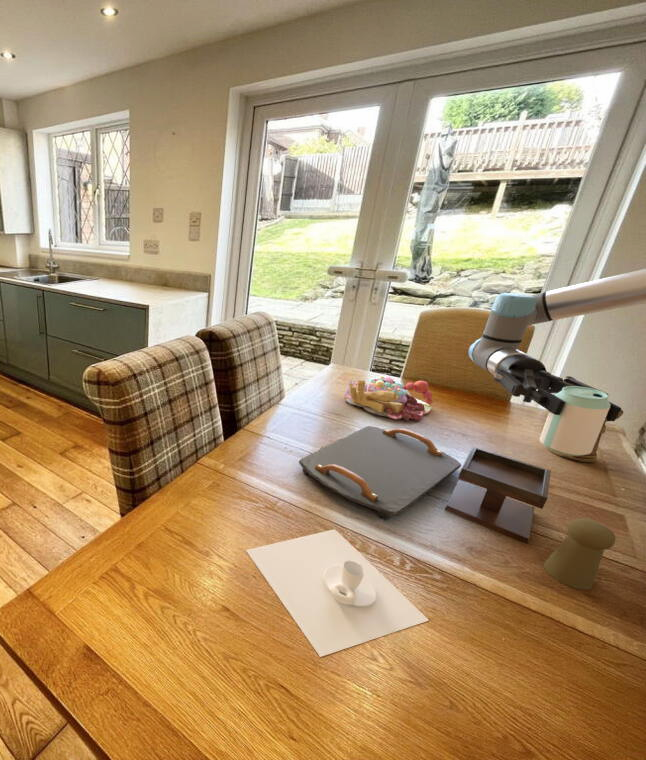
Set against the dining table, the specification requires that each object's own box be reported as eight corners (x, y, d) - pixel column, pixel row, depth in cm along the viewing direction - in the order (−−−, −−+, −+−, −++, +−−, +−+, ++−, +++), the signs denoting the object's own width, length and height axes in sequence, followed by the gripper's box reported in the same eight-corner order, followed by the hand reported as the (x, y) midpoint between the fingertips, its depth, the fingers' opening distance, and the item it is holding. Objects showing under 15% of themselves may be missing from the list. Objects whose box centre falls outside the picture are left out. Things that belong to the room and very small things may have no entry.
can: (565, 437, 80) (586, 383, 75) (602, 457, 73) (626, 398, 69) (528, 439, 80) (546, 385, 76) (561, 458, 74) (583, 401, 69)
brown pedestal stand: (532, 511, 83) (552, 470, 79) (526, 543, 75) (549, 499, 71) (456, 483, 92) (471, 445, 88) (444, 509, 84) (460, 468, 80)
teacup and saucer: (343, 615, 61) (348, 596, 59) (308, 574, 68) (313, 556, 66) (387, 601, 63) (394, 582, 62) (350, 562, 70) (355, 545, 69)
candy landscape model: (414, 429, 116) (423, 401, 112) (333, 403, 132) (339, 378, 128) (436, 405, 132) (444, 379, 128) (361, 384, 148) (367, 361, 144)
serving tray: (385, 532, 77) (393, 507, 75) (286, 473, 95) (290, 451, 93) (465, 469, 97) (473, 448, 95) (371, 430, 115) (376, 411, 113)
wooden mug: (553, 463, 100) (583, 399, 94) (544, 441, 111) (571, 382, 104) (603, 475, 96) (639, 409, 89) (589, 451, 106) (621, 390, 99)
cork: (542, 574, 68) (569, 524, 64) (544, 555, 72) (569, 507, 68) (593, 596, 64) (625, 545, 60) (591, 575, 68) (621, 525, 64)
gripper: (562, 389, 91) (648, 438, 70) (460, 378, 96) (512, 421, 75) (576, 358, 88) (670, 400, 67) (470, 349, 93) (527, 385, 73)
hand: (587, 411), depth 71 cm, fingers closed on can, 7 cm apart
